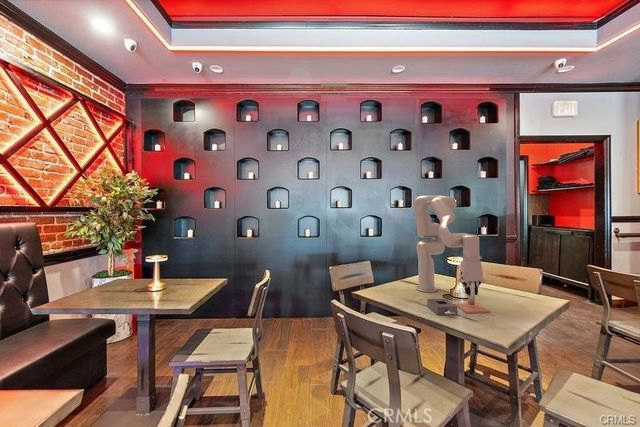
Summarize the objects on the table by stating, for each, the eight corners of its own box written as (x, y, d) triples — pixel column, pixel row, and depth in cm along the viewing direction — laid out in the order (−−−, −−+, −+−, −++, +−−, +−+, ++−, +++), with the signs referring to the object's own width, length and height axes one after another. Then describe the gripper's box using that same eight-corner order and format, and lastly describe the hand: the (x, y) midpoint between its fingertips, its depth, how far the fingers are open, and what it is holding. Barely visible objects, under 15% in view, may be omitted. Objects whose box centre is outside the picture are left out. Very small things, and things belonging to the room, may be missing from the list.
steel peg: (466, 303, 149) (466, 280, 148) (472, 303, 149) (472, 280, 149) (470, 305, 146) (470, 281, 145) (476, 305, 146) (476, 281, 145)
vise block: (427, 306, 152) (427, 299, 152) (445, 306, 152) (445, 298, 152) (440, 317, 136) (440, 309, 136) (461, 317, 136) (461, 309, 136)
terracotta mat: (454, 305, 153) (454, 303, 153) (476, 304, 153) (476, 302, 153) (466, 313, 141) (466, 311, 141) (490, 312, 141) (490, 310, 141)
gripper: (482, 257, 151) (482, 291, 151) (451, 257, 150) (452, 292, 151) (491, 259, 143) (491, 296, 144) (459, 260, 143) (459, 297, 143)
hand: (471, 294), depth 147 cm, fingers closed on steel peg, 3 cm apart
